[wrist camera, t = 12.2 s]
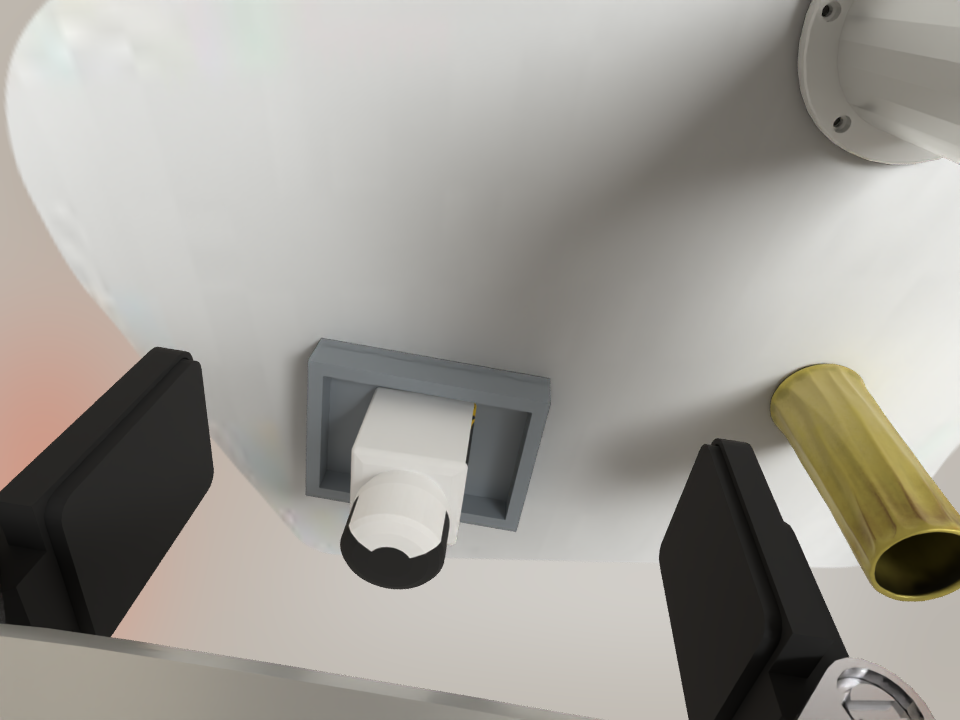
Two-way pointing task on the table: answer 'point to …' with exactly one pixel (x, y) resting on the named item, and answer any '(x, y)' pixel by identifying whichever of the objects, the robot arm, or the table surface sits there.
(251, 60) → the table surface
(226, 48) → the table surface
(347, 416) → the tray
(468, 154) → the table surface
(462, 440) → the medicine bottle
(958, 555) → the vase
